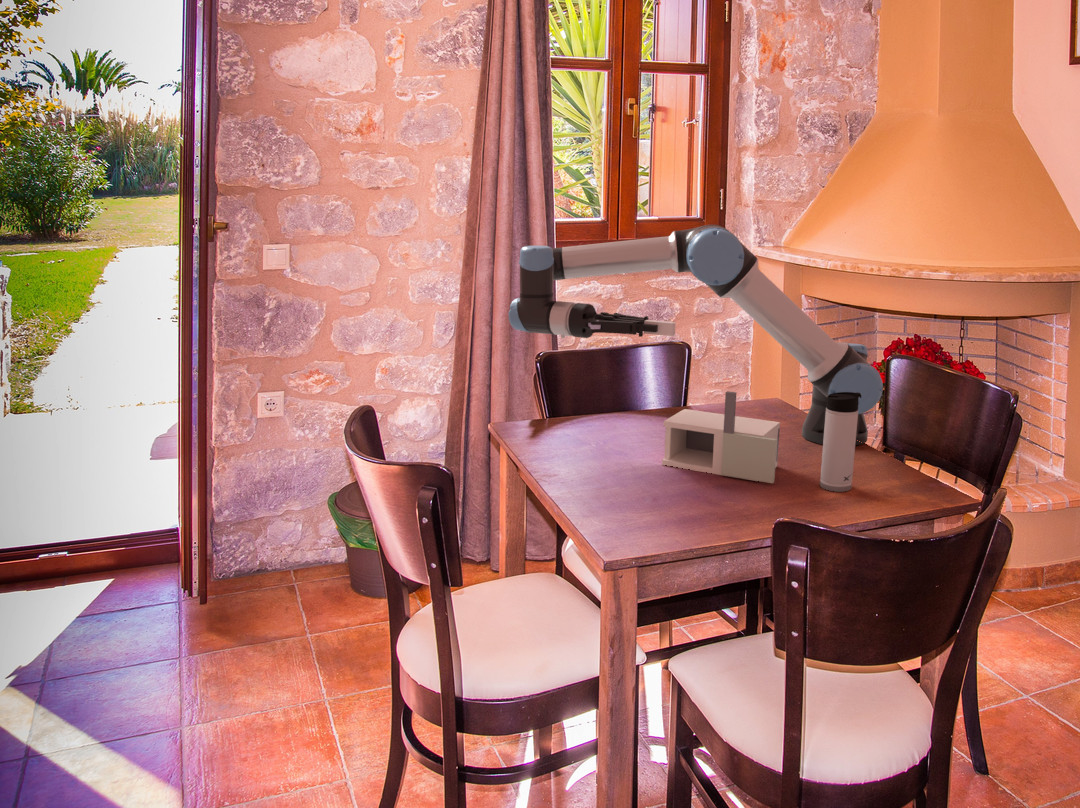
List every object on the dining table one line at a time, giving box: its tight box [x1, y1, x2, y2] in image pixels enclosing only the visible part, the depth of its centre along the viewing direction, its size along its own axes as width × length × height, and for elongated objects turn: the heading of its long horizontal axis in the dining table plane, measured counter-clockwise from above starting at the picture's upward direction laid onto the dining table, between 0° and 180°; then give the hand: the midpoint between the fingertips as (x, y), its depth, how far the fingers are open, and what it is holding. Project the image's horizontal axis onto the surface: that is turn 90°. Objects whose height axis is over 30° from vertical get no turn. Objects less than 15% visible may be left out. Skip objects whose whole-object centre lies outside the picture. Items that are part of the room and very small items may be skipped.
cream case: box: [661, 408, 781, 483], centre depth 217 cm, size 22×12×10 cm, turn 61°
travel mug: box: [819, 392, 861, 493], centre depth 202 cm, size 6×7×20 cm
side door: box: [720, 390, 777, 484], centre depth 206 cm, size 11×1×18 cm, turn 61°
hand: (673, 329), depth 210 cm, fingers closed
